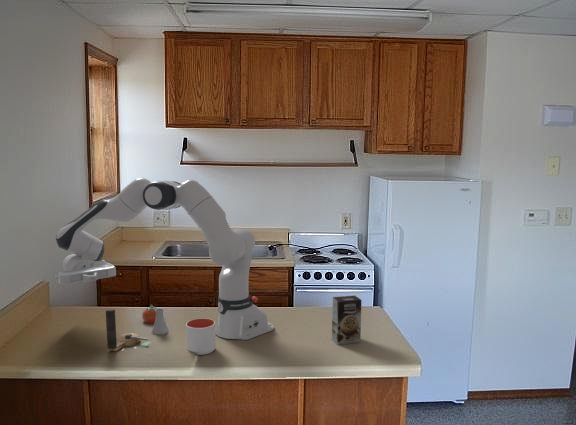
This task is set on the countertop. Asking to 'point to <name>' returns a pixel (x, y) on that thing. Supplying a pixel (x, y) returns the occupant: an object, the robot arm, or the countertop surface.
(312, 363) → the countertop surface
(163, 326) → the flask
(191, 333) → the cup
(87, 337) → the countertop surface
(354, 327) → the coffee box
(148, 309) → the tomato
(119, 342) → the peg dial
